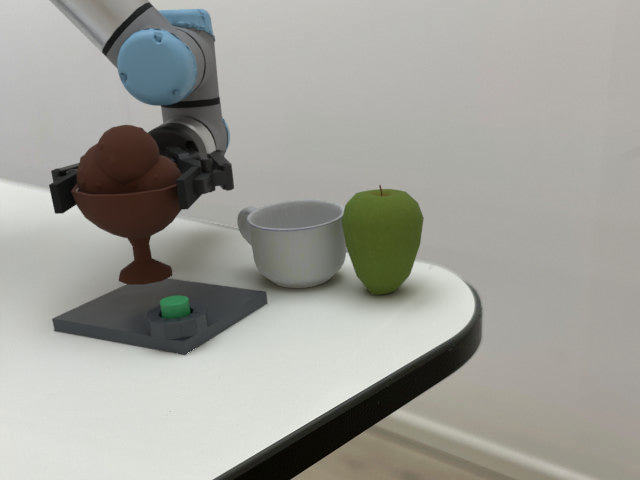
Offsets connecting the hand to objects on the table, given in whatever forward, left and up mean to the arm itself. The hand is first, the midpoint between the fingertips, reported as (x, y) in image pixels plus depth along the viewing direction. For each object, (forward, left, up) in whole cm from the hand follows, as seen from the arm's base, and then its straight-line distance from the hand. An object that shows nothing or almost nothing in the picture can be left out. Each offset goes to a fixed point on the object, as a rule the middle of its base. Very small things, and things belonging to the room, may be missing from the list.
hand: (118, 197), depth 71 cm
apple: (+19, +17, -13) cm, 29 cm away
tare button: (+6, -2, -10) cm, 12 cm away
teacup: (+7, +18, -13) cm, 23 cm away
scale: (+1, +3, -13) cm, 13 cm away
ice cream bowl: (-2, +4, -9) cm, 10 cm away
